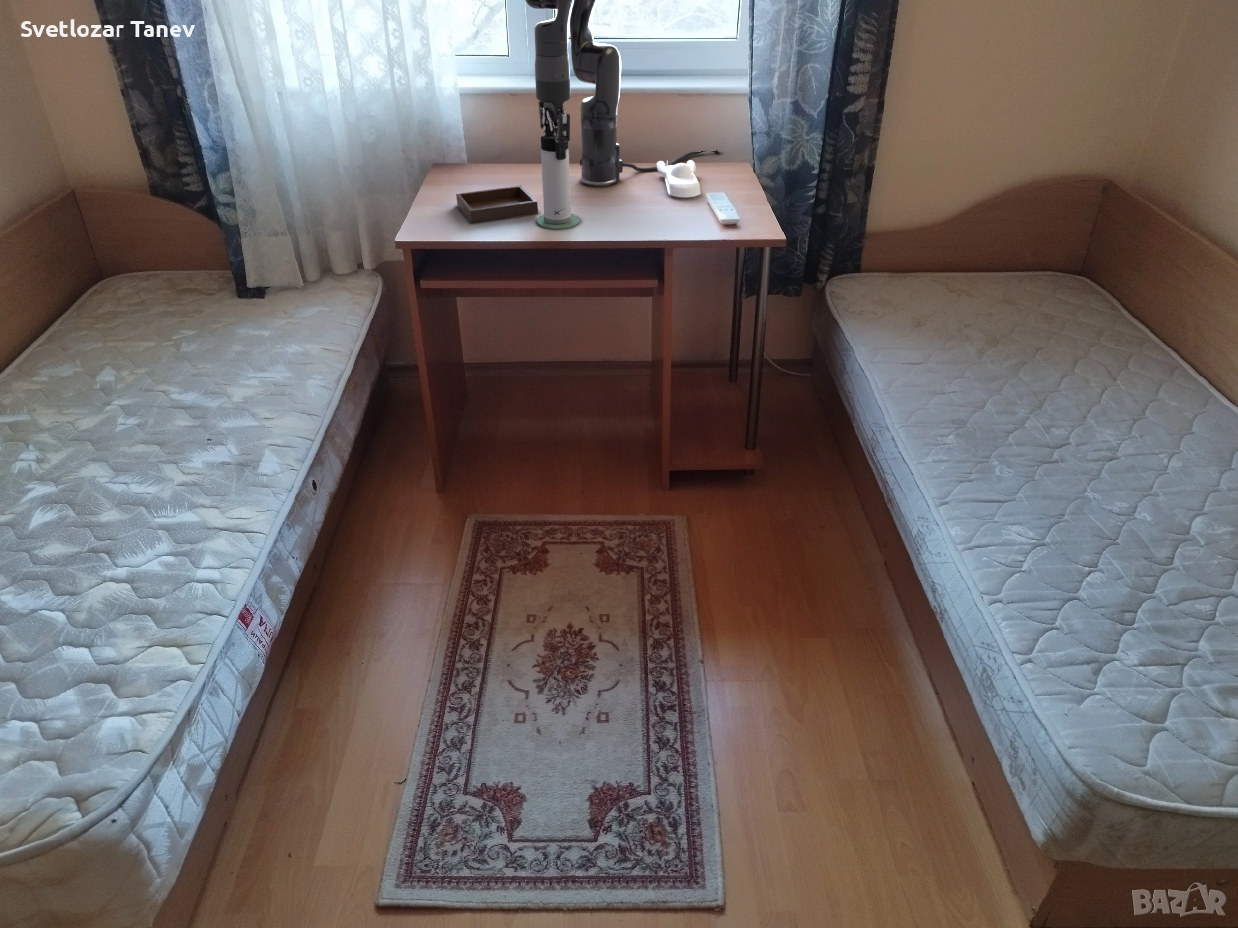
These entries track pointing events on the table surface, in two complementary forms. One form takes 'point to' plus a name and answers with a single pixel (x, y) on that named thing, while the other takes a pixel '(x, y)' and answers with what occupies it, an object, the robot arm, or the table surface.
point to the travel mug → (555, 182)
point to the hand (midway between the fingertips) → (555, 154)
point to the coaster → (571, 223)
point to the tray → (496, 204)
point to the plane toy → (680, 179)
